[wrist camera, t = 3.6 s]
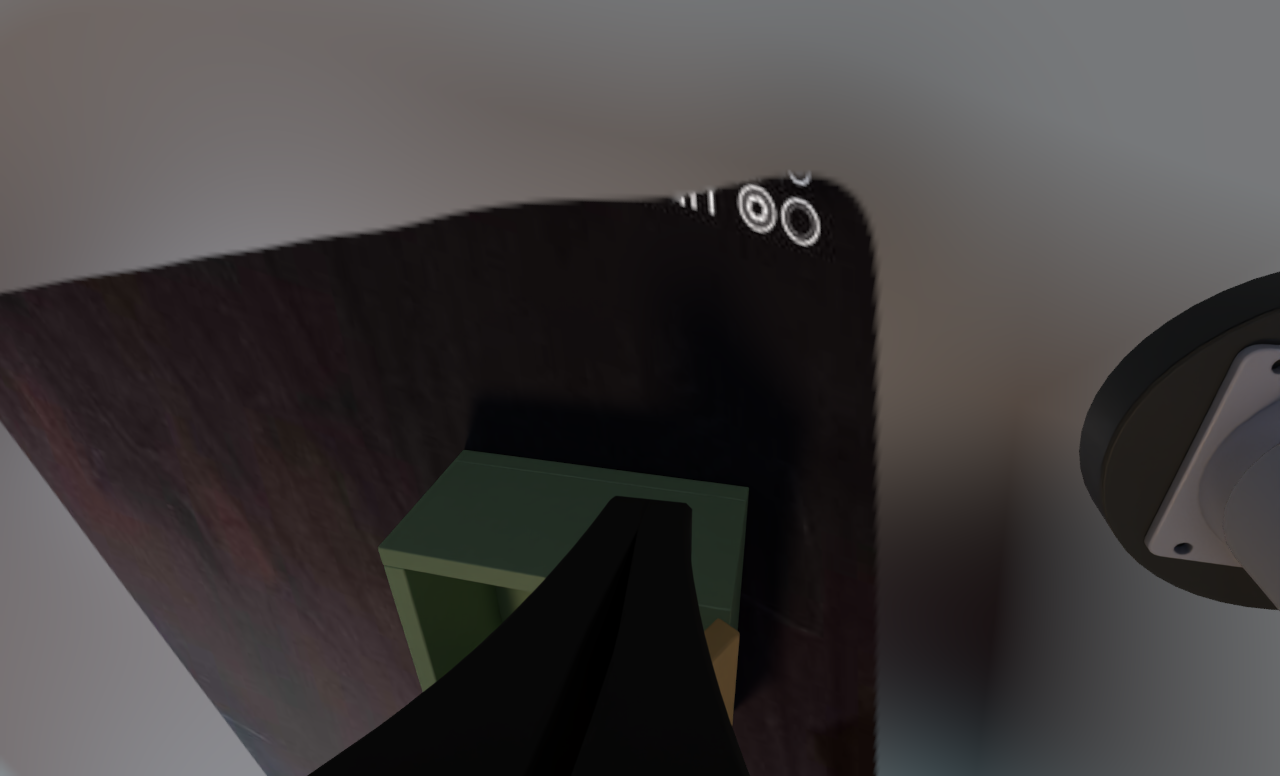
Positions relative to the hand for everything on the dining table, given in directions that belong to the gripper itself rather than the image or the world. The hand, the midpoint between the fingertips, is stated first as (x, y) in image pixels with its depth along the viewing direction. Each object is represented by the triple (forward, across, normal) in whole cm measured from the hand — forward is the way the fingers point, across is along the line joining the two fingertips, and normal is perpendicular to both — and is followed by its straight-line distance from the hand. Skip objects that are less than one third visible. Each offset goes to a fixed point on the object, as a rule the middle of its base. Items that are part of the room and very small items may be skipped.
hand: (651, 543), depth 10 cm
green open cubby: (+10, +4, +13) cm, 17 cm away
